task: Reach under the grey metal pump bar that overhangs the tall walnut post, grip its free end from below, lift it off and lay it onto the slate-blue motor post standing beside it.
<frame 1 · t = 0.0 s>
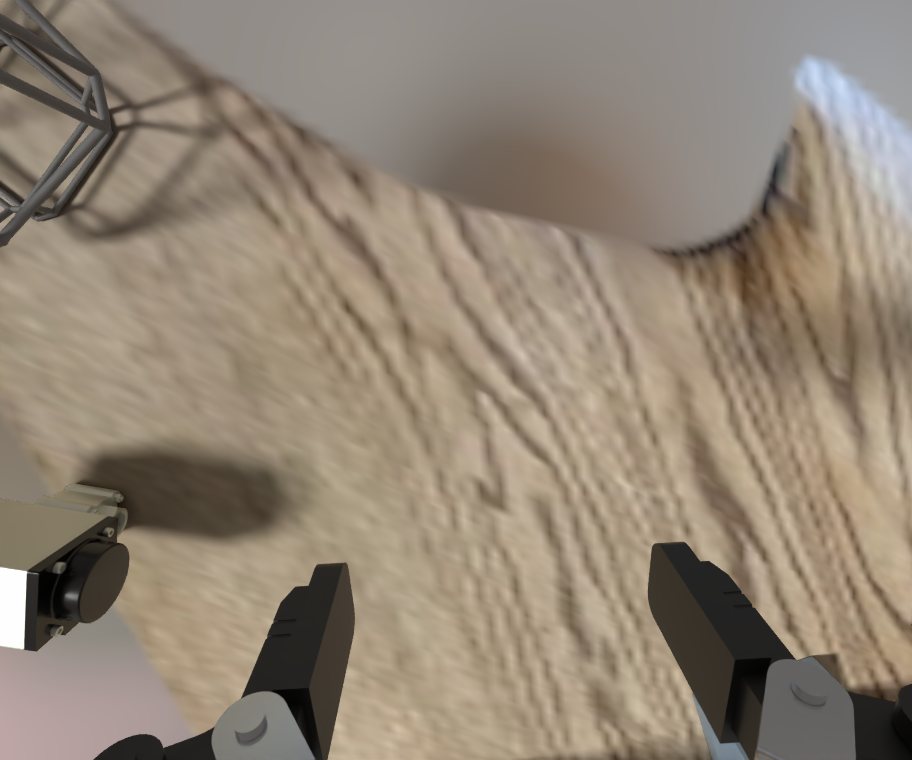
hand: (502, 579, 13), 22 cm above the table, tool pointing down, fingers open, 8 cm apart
motor post: (770, 743, 41), on the table
pneumatic valve: (98, 510, 36), on the table
geometric lantern: (34, 116, 31), on the table
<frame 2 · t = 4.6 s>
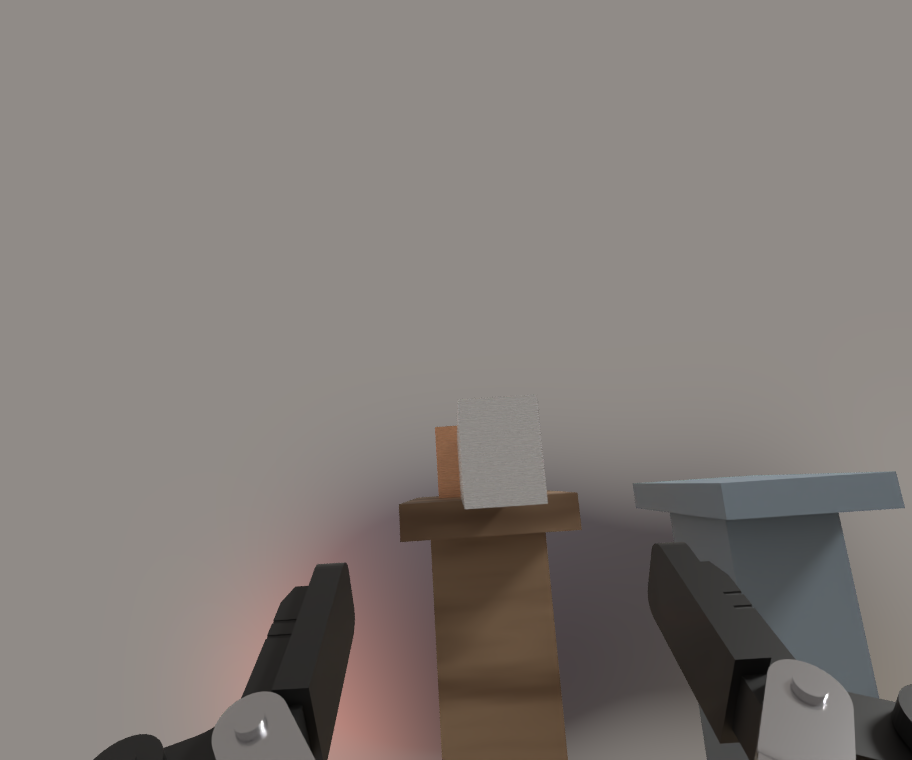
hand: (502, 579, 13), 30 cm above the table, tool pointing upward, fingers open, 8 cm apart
pump bar: (481, 495, 34), point 32 cm above the table, touching walnut post
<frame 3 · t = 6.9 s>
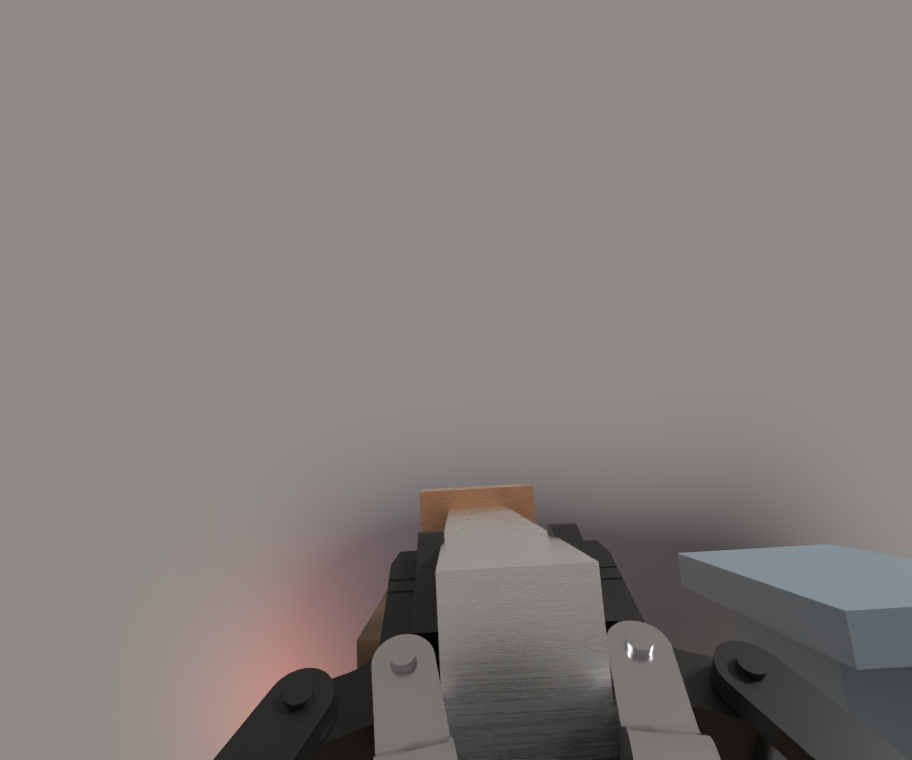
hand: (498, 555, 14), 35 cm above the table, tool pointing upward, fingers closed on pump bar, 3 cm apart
pump bar: (482, 589, 25), point 32 cm above the table, touching gripper, walnut post
when the fingers open (36 cm above the table, at t = 13.3 s): pump bar stays where it is, resting on motor post.
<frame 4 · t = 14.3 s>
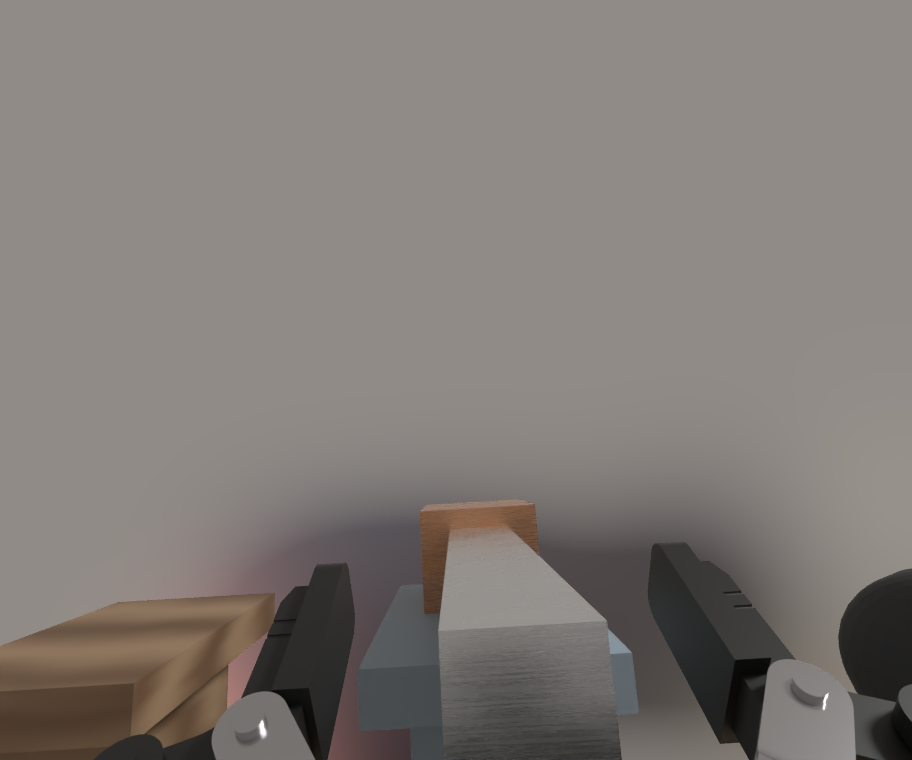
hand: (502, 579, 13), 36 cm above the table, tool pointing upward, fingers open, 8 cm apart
pump bar: (483, 610, 25), point 32 cm above the table, touching motor post
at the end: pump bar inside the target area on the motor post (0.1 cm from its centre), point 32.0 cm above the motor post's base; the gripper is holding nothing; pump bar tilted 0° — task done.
